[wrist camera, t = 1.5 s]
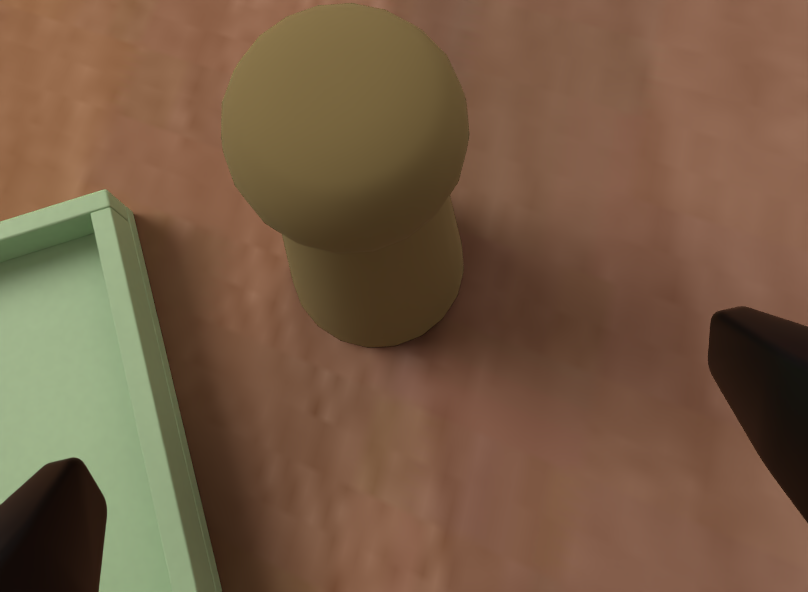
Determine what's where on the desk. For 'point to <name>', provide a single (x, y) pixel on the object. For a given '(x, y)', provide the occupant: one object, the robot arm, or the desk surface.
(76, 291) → the tray
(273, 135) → the olive brown pawn
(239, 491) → the desk surface
